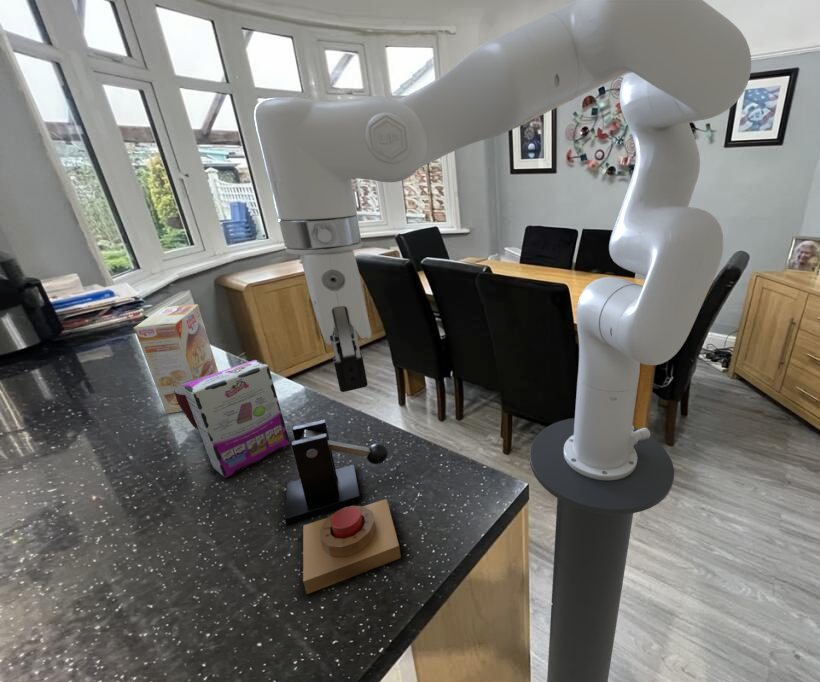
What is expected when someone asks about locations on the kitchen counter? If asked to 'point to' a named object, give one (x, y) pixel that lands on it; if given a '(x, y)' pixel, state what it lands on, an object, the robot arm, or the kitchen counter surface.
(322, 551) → the button block
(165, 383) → the coffeecake box
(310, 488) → the switch bracket
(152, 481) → the kitchen counter surface
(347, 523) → the button
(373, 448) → the switch lever
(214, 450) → the candy bar box
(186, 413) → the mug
